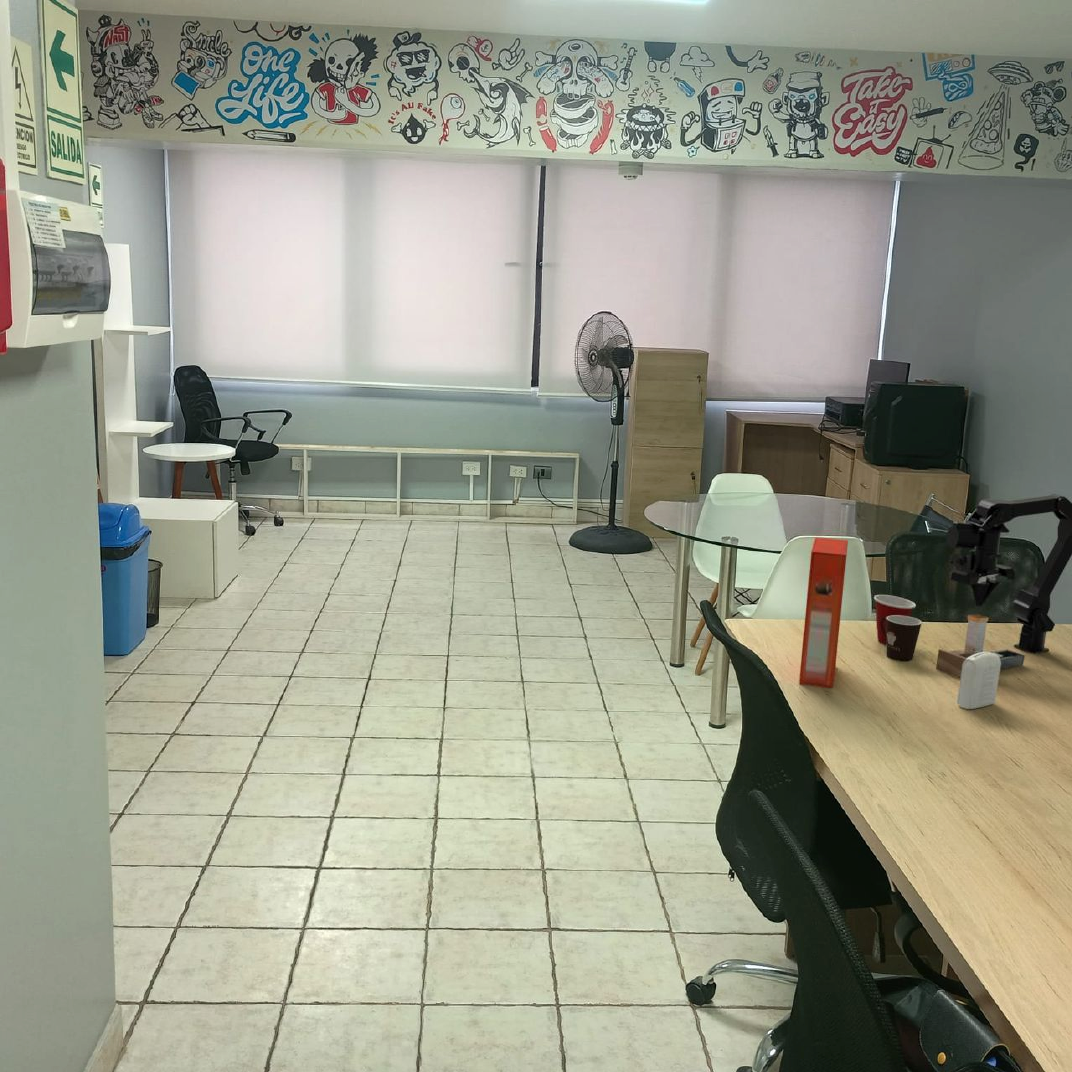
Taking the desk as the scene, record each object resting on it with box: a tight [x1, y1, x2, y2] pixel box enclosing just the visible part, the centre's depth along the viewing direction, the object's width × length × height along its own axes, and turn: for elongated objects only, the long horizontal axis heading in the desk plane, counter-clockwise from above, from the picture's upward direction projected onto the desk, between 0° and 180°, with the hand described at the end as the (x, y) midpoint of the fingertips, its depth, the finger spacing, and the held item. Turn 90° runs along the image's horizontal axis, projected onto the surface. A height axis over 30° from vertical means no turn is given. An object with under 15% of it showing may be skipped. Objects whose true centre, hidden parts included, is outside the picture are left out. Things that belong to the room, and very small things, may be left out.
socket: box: [935, 648, 967, 679], centre depth 271 cm, size 9×9×5 cm
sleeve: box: [990, 649, 1025, 671], centre depth 278 cm, size 12×5×3 cm, turn 120°
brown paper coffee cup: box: [880, 615, 923, 663], centre depth 281 cm, size 12×9×10 cm
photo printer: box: [956, 651, 1001, 710], centre depth 247 cm, size 10×4×12 cm, turn 123°
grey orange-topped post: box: [963, 613, 1004, 658], centre depth 273 cm, size 13×3×13 cm, turn 120°
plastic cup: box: [873, 594, 917, 646], centre depth 292 cm, size 11×11×12 cm
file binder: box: [798, 537, 849, 689], centre depth 261 cm, size 8×17×32 cm, turn 163°
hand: (978, 605), depth 288 cm, fingers closed
